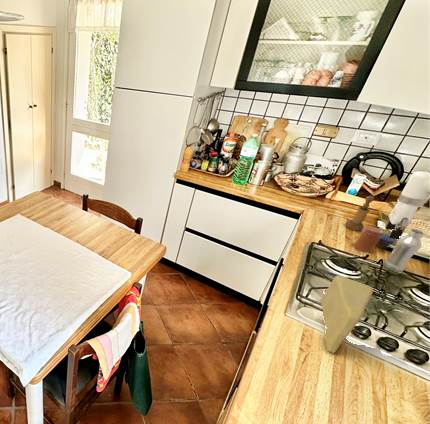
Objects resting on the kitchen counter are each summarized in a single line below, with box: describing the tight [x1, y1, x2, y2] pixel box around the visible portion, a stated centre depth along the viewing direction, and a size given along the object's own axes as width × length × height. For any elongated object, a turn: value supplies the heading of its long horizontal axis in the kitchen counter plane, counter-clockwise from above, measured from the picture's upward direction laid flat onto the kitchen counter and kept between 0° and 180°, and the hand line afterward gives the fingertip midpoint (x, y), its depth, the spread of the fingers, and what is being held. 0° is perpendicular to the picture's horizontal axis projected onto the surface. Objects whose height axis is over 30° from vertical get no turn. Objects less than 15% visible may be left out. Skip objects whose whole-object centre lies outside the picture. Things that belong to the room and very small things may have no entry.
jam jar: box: [353, 225, 384, 253], centre depth 139 cm, size 7×7×10 cm
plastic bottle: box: [382, 228, 425, 273], centre depth 122 cm, size 6×7×20 cm
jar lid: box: [379, 233, 397, 245], centre depth 142 cm, size 7×7×2 cm
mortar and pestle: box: [344, 195, 375, 232], centre depth 154 cm, size 7×6×18 cm
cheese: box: [319, 275, 374, 354], centre depth 96 cm, size 22×10×15 cm, turn 138°
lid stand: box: [376, 242, 391, 250], centre depth 143 cm, size 5×5×4 cm
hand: (391, 233), depth 140 cm, fingers open, 9 cm apart
